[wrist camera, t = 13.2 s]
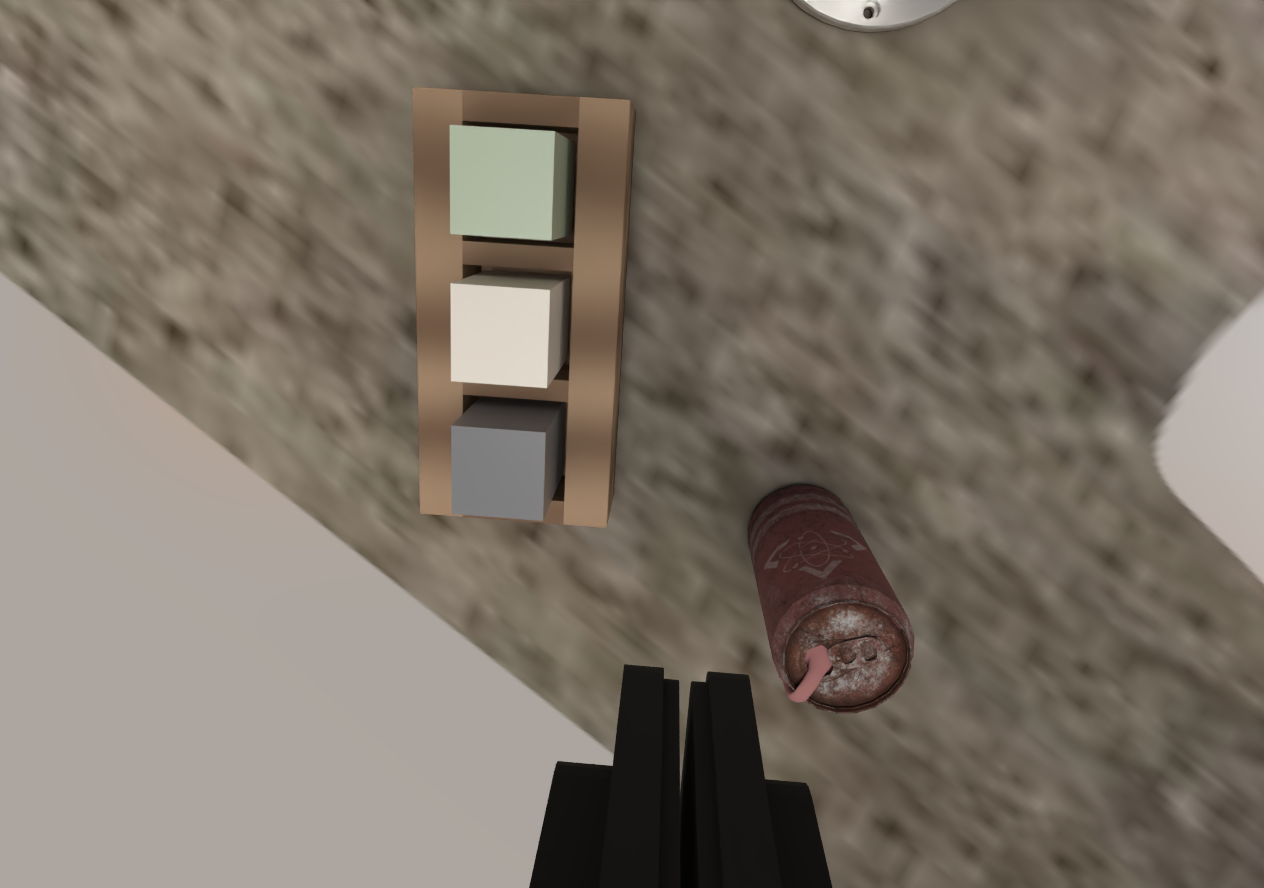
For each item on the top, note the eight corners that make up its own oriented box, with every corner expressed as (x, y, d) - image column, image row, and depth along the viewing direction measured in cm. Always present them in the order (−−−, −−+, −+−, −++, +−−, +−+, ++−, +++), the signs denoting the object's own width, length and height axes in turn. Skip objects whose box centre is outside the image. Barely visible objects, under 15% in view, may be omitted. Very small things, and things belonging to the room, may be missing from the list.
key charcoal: (485, 391, 44) (451, 425, 37) (565, 397, 44) (545, 432, 37) (485, 467, 45) (451, 513, 38) (562, 473, 45) (542, 520, 38)
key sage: (487, 137, 40) (449, 124, 33) (575, 143, 40) (554, 131, 33) (486, 228, 41) (450, 234, 34) (571, 234, 41) (551, 240, 34)
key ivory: (486, 270, 42) (450, 283, 35) (570, 275, 42) (549, 290, 35) (486, 353, 43) (450, 381, 36) (567, 359, 43) (547, 388, 36)
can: (724, 545, 48) (742, 679, 34) (789, 462, 46) (835, 569, 33) (805, 598, 48) (854, 750, 35) (872, 519, 47) (951, 646, 33)
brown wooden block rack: (442, 100, 41) (412, 87, 37) (635, 111, 41) (630, 99, 36) (446, 481, 47) (420, 513, 43) (613, 494, 47) (606, 527, 42)
